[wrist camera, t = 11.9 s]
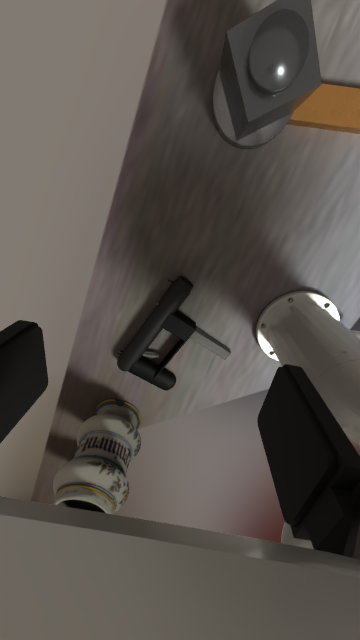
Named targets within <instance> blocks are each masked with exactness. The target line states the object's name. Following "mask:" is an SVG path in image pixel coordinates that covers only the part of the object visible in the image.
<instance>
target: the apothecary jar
mask: <svg viewBox="0 0 360 640" xmlns="http://www.w3.org/2000/svg"><path fill="white" fill-rule="evenodd" d="M140 424H141V416H140V413H139V412H138V410H137V409H136V408H135V407H134V406H133V405H131V404H130V403H128V402H125V401H124V402H119V401H117V400H115V399H111V400H105V401H103V402H101V403H100V404H99V405H98V406H97V407H96V410H95V416H93V417H90V418H89V419H87V420H86V421H85V422H83V424H82V425H81V426H80V428H79V430H78V432H77V438H76V439H77V445H78V447H77V450H76V452H75V454H74V456H73V458H72V460H71V461H69V462H67V463H65V464H64V465H63V466H62V467H61V468H60V469H59V470H58V472H57V473H56V475H55V477H54V481H53V490H54V494H55V496H56V498H55V501H54V504H53V505H58V506H64V507H70V508H76V509H82V510H88V511H95V512H101V513H107V514H113V513H114V512H116V511H117V510H118V509H120V508H121V506H123V504H124V503H125V501H126V500H127V497H128V493H129V483H128V480H127V477H126V472H127V468H128V465H129V462H130V461H131V460H132V459H133V458H134V457H135V456H136V455H137V454H138V452H139V449H140V445H141V438H140V434H139V432H138V430H137V429H138V427H139V426H140Z"/></svg>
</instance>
